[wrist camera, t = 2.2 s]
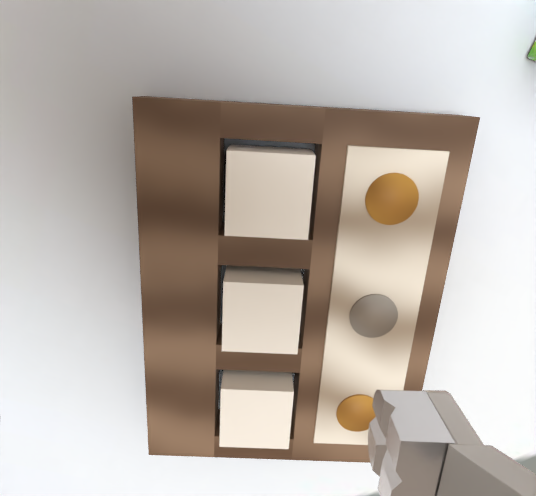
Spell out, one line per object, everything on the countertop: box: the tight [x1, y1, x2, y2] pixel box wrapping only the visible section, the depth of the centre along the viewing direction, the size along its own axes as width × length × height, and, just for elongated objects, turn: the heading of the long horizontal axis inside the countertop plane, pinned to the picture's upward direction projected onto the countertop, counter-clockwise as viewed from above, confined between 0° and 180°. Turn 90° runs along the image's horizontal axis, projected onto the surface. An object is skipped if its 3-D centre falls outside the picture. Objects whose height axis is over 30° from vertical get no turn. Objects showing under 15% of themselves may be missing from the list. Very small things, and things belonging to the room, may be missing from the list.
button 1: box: [219, 370, 294, 449], centre depth 32 cm, size 5×5×3 cm
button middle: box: [222, 265, 304, 354], centre depth 29 cm, size 5×5×3 cm
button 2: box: [224, 144, 316, 240], centre depth 26 cm, size 5×5×3 cm
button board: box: [132, 96, 480, 462], centre depth 30 cm, size 26×20×4 cm
